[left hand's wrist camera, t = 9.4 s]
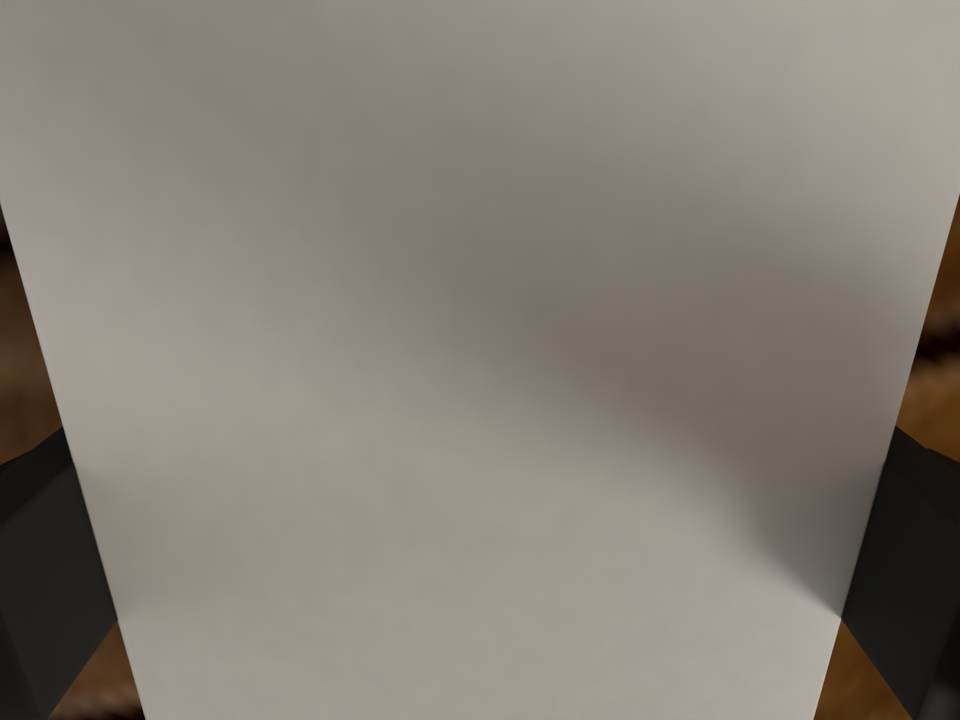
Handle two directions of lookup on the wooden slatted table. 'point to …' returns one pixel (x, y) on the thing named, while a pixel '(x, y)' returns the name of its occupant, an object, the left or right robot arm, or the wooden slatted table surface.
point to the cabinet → (479, 336)
